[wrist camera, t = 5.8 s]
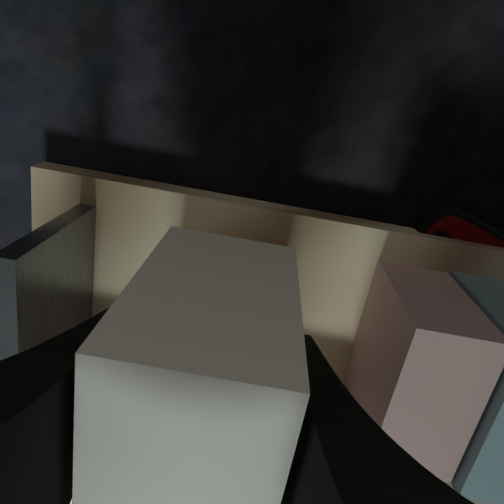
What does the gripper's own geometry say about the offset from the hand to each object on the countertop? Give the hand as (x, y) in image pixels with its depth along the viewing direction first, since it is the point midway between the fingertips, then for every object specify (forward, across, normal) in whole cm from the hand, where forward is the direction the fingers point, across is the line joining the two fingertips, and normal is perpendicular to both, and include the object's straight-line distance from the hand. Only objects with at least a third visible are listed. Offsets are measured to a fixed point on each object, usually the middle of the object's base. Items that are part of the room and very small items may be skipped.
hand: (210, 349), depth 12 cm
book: (+3, 0, 0) cm, 3 cm away
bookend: (+5, +5, 0) cm, 8 cm away
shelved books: (+5, -8, 0) cm, 9 cm away
